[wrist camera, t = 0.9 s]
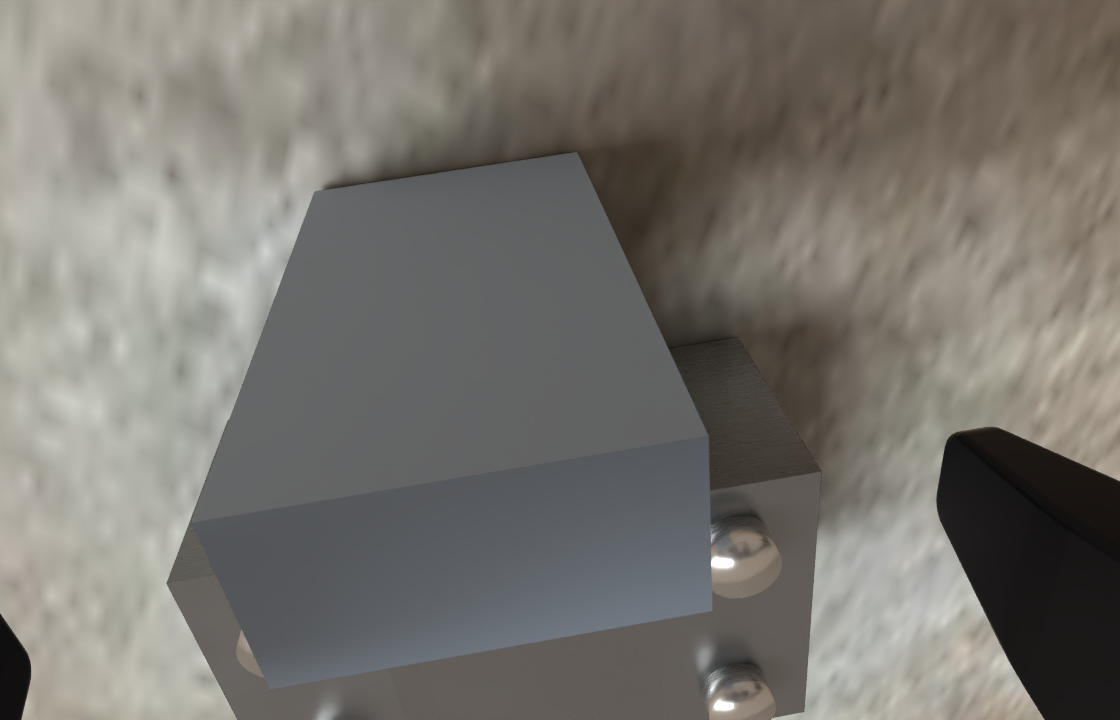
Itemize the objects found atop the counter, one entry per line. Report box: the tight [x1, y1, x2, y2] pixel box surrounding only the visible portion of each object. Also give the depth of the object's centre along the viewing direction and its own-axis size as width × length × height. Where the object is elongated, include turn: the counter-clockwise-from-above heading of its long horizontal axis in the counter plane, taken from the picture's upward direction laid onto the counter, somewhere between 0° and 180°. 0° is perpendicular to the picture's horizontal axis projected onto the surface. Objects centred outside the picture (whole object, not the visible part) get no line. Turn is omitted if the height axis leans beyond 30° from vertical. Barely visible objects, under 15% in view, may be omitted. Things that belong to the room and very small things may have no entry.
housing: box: [167, 337, 821, 720], centre depth 16 cm, size 10×6×5 cm, turn 96°
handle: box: [191, 152, 712, 689], centre depth 13 cm, size 4×9×8 cm, turn 6°
